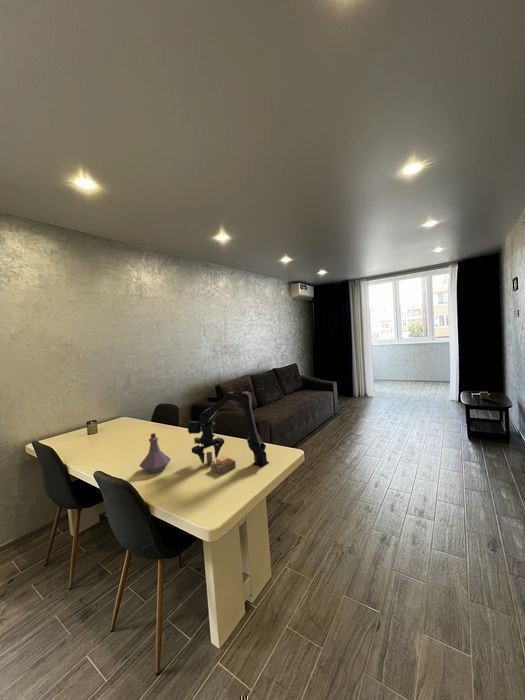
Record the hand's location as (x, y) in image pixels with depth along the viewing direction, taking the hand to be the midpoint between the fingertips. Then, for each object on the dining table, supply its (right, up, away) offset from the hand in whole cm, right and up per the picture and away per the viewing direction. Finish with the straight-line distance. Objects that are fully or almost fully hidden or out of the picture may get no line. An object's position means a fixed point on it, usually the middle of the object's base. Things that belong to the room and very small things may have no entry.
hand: (209, 460), depth 150 cm
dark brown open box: (+9, -1, -8) cm, 12 cm away
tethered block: (+5, -1, -4) cm, 7 cm away
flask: (-29, -4, -3) cm, 29 cm away
